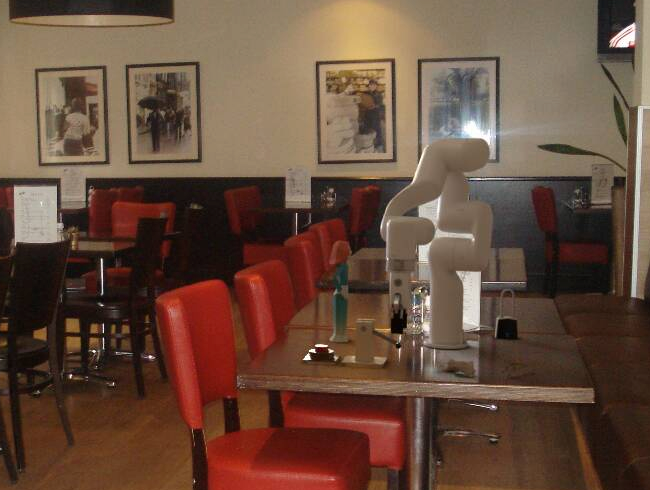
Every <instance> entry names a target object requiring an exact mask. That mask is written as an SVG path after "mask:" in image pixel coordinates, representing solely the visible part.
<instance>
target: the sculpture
mask: <svg viewBox="0 0 650 490" xmlns="http://www.w3.org/2000/svg"><path fill="white" fill-rule="evenodd" d="M352 253H353V251H352V250H351V247H350V243H349V242H347V241H344V240H337V241H335V242H334V243H333V245H332V248H331V254H330V258H329V262H328V264H329V265H330V266H332V267H333V268H337V270H336V272H335V273H334V274H333V276H332V279H333V283H334V286H335V291H334V292H333V294H332V309H333V310H332V317H333V318H332V319H333V326H332V327H333V333H332V335H331V337H330V338H329V339H328V340H329V341H330V342H332V343H348V342H349V341H350V340H349V338H348V335H347V327H348V310H349V309H348V307H349V265H348V264H347V263H345V261H346V260H347V259H352Z"/></svg>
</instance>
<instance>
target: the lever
mask: <svg viewBox="0 0 650 490" xmlns="http://www.w3.org/2000/svg"><path fill="white" fill-rule="evenodd" d="M362 321H364V320H362ZM372 333H373V334H374V336H377V337H379V338H381V339H382V340H384V341H386V342H388V343H390V344H392V345H394V346H395V349H397V350H399V349H401V348H402V346H403V345H404V342H403V340H401V339H399V340H396V339H395V338H393V337H390V336H388V335H386V334H384V333H382V332H380V331H378V330H377V329H375V328H374V329H373V332H372Z"/></svg>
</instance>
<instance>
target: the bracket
mask: <svg viewBox="0 0 650 490" xmlns="http://www.w3.org/2000/svg"><path fill="white" fill-rule="evenodd" d="M362 320H364V321H362ZM375 320H376V319H374V318H357V320H356V321H355V326H354V328H355V329H354V330H355V332H354V333H355V334H354V337H355V338H354V355H345V357H344V358H343V359H342V360H341V364H351V365H368V366H369V365H370V366H385V364H386V363H387V362H386V361H388V357H382V356H380V357H379V356H375V334H373V333H372V332H373V329H375V325H376V324H375Z"/></svg>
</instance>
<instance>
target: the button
mask: <svg viewBox="0 0 650 490" xmlns="http://www.w3.org/2000/svg"><path fill="white" fill-rule="evenodd" d="M314 349H315V352H329V349H330V347H329V345H328V344H316V345H314Z"/></svg>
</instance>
